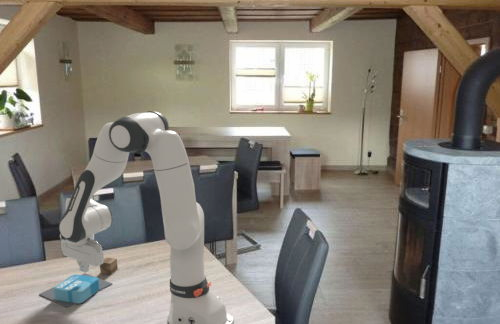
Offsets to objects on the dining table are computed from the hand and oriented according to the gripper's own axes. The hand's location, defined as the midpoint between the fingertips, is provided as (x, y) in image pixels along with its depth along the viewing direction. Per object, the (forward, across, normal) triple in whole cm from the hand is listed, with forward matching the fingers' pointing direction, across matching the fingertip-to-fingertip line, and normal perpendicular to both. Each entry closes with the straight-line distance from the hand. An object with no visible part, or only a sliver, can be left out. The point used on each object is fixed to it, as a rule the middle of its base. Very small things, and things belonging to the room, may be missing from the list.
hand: (84, 271), depth 156 cm
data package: (+6, -4, +1) cm, 8 cm away
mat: (+9, +6, 0) cm, 11 cm away
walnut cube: (+9, +8, -17) cm, 21 cm away
